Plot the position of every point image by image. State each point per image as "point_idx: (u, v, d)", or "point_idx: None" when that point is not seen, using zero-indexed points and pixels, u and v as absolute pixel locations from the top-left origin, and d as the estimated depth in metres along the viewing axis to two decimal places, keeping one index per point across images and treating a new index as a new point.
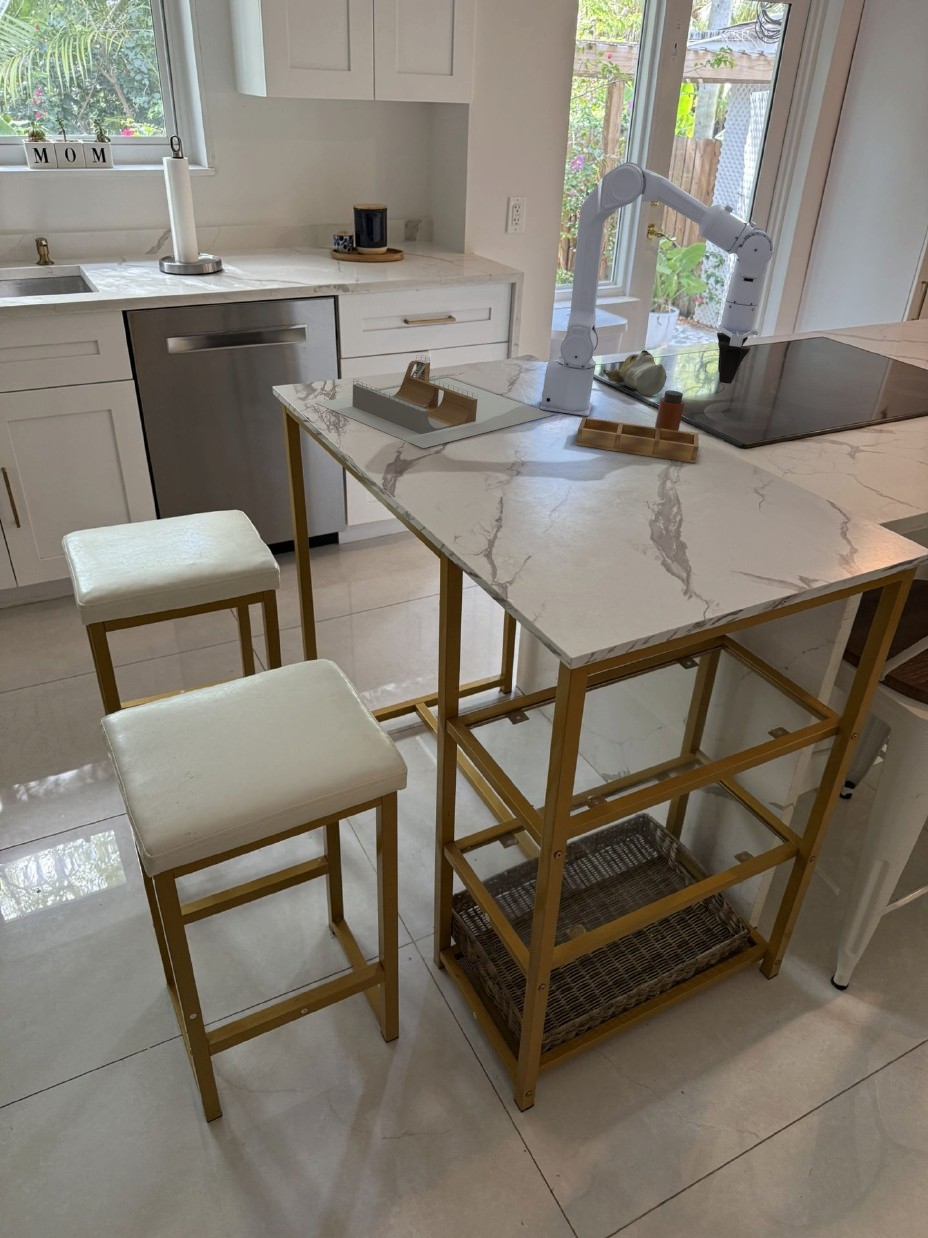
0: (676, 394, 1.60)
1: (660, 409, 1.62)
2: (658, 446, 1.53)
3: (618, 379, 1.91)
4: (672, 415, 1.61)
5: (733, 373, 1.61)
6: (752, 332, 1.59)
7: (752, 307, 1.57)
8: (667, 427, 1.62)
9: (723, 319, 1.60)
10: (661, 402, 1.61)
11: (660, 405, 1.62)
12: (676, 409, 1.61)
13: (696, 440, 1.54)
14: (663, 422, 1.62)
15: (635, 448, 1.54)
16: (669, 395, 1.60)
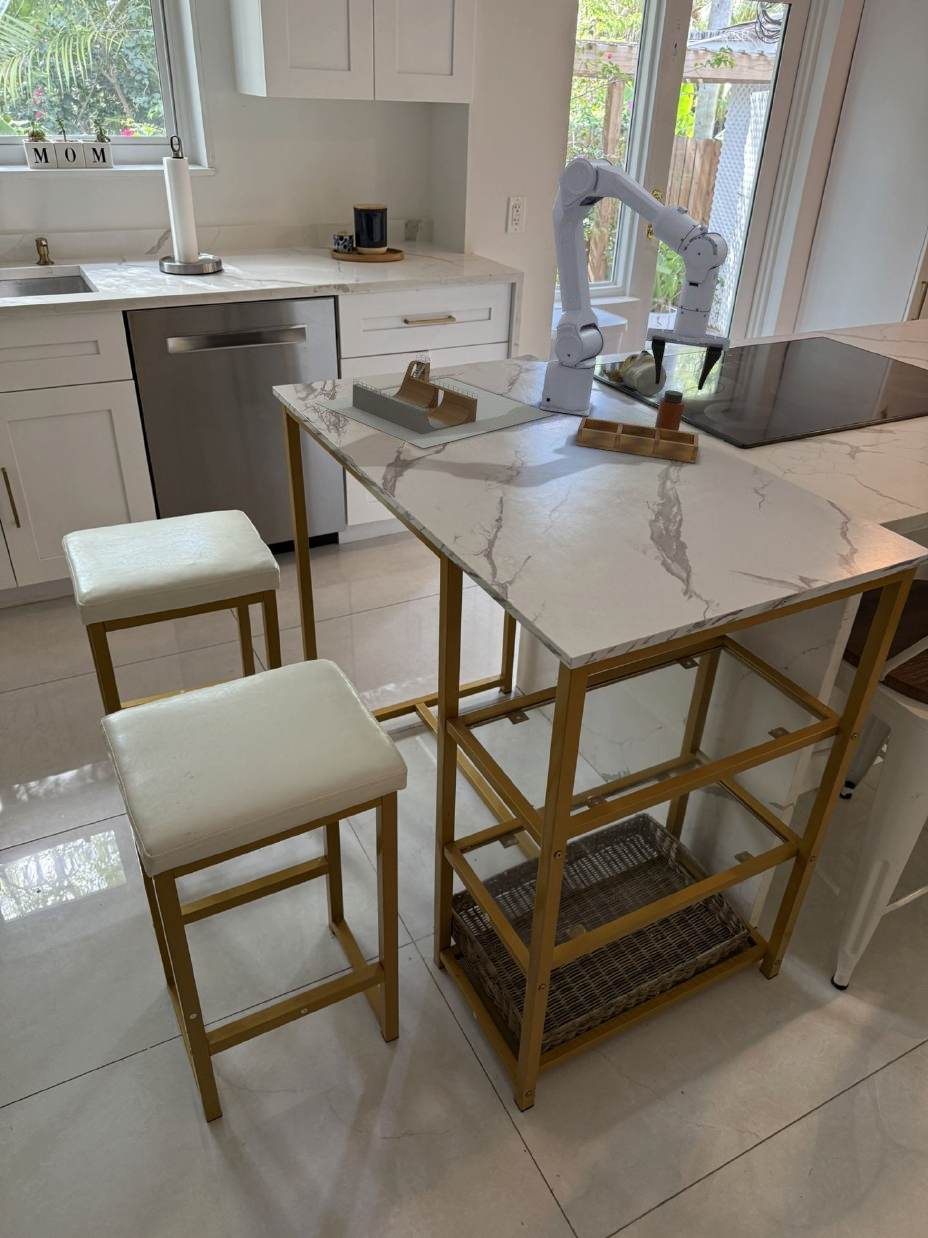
0: (676, 394, 1.60)
1: (660, 409, 1.62)
2: (658, 446, 1.53)
3: (618, 379, 1.91)
4: (672, 415, 1.61)
5: None
6: (681, 338, 1.54)
7: (681, 310, 1.53)
8: (667, 427, 1.62)
9: None
10: (661, 402, 1.61)
11: (660, 405, 1.62)
12: (676, 409, 1.61)
13: (696, 440, 1.54)
14: (663, 422, 1.62)
15: (635, 448, 1.54)
16: (669, 395, 1.60)
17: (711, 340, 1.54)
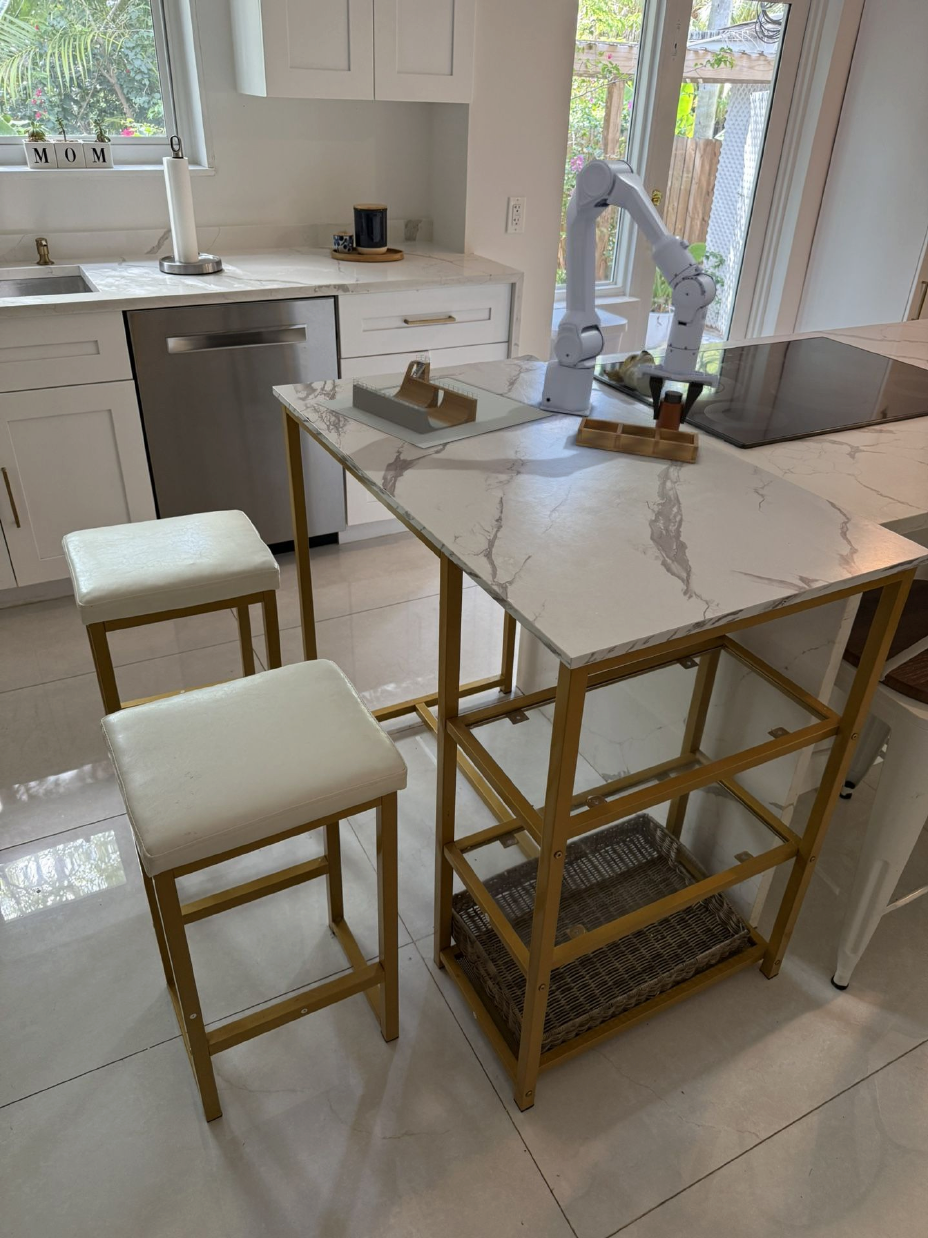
0: (676, 394, 1.60)
1: (660, 409, 1.62)
2: (658, 446, 1.53)
3: (618, 379, 1.91)
4: (672, 415, 1.61)
5: None
6: (670, 375, 1.57)
7: (670, 348, 1.56)
8: (667, 427, 1.62)
9: None
10: (661, 402, 1.61)
11: (660, 405, 1.62)
12: (676, 409, 1.61)
13: (696, 440, 1.54)
14: (663, 422, 1.62)
15: (635, 448, 1.54)
16: (669, 395, 1.60)
17: (700, 377, 1.57)
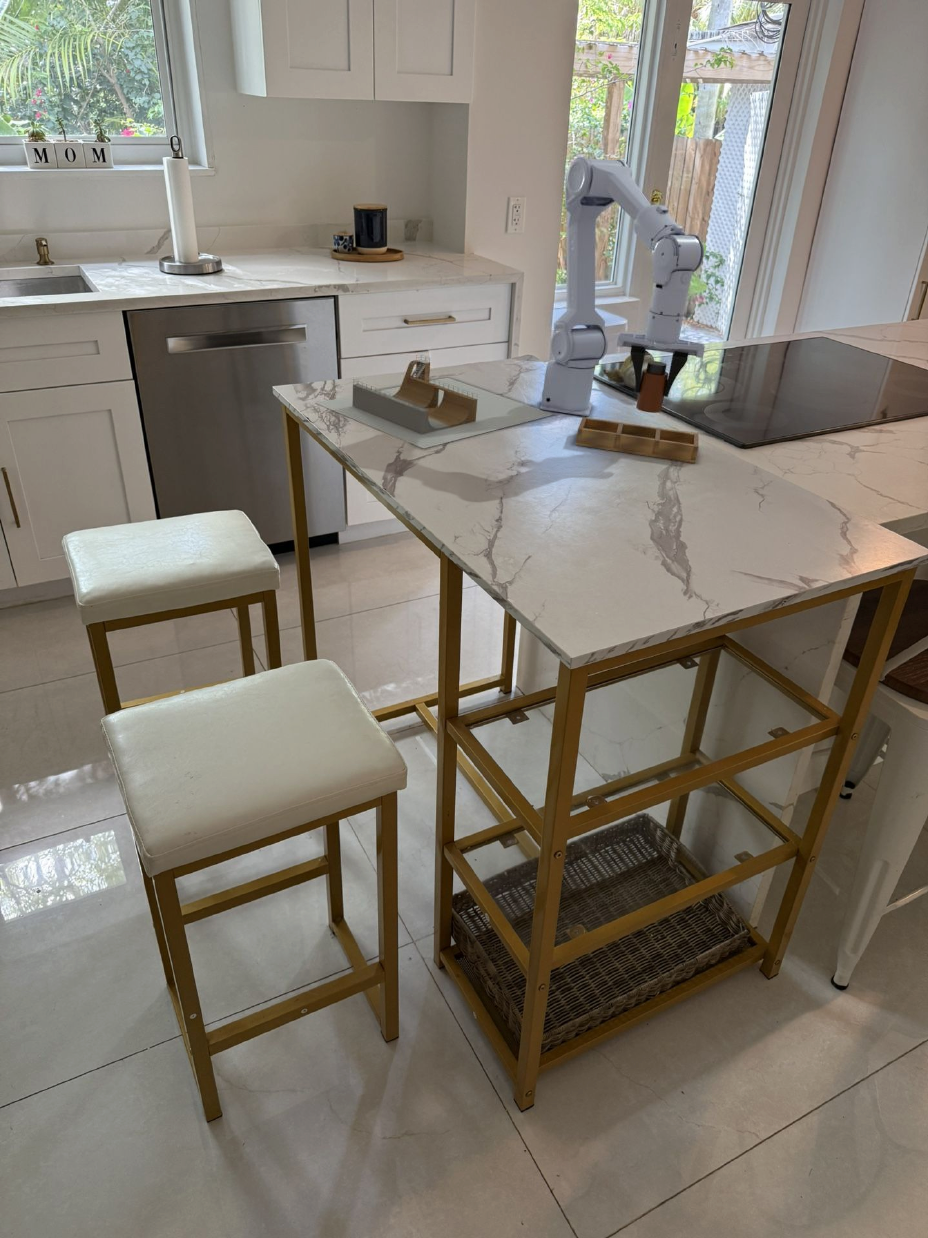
0: (659, 364, 1.51)
1: (642, 381, 1.52)
2: (658, 446, 1.53)
3: (618, 379, 1.91)
4: (656, 387, 1.51)
5: None
6: (653, 343, 1.47)
7: (652, 314, 1.46)
8: (650, 400, 1.52)
9: None
10: (643, 373, 1.52)
11: (642, 377, 1.52)
12: (660, 381, 1.51)
13: (696, 440, 1.54)
14: (646, 394, 1.52)
15: (635, 448, 1.54)
16: (652, 366, 1.50)
17: (684, 346, 1.47)
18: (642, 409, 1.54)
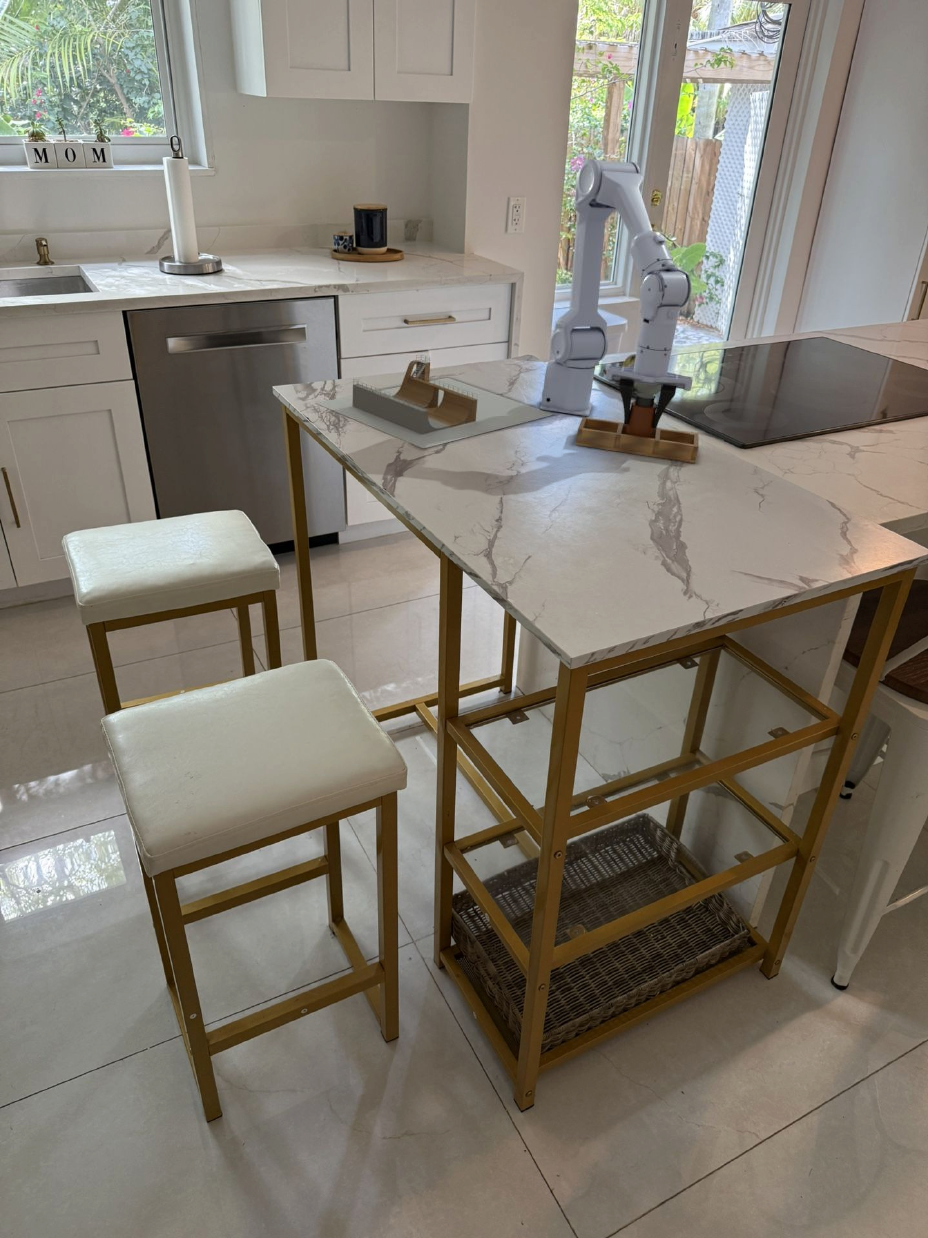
0: (648, 397, 1.52)
1: (631, 413, 1.53)
2: (658, 446, 1.53)
3: None
4: (644, 419, 1.53)
5: (624, 412, 1.54)
6: (641, 377, 1.48)
7: (640, 348, 1.47)
8: (639, 432, 1.54)
9: None
10: (632, 406, 1.53)
11: (631, 409, 1.53)
12: (648, 413, 1.52)
13: (696, 440, 1.54)
14: (634, 426, 1.54)
15: (635, 448, 1.54)
16: (640, 398, 1.52)
17: (672, 379, 1.49)
18: None
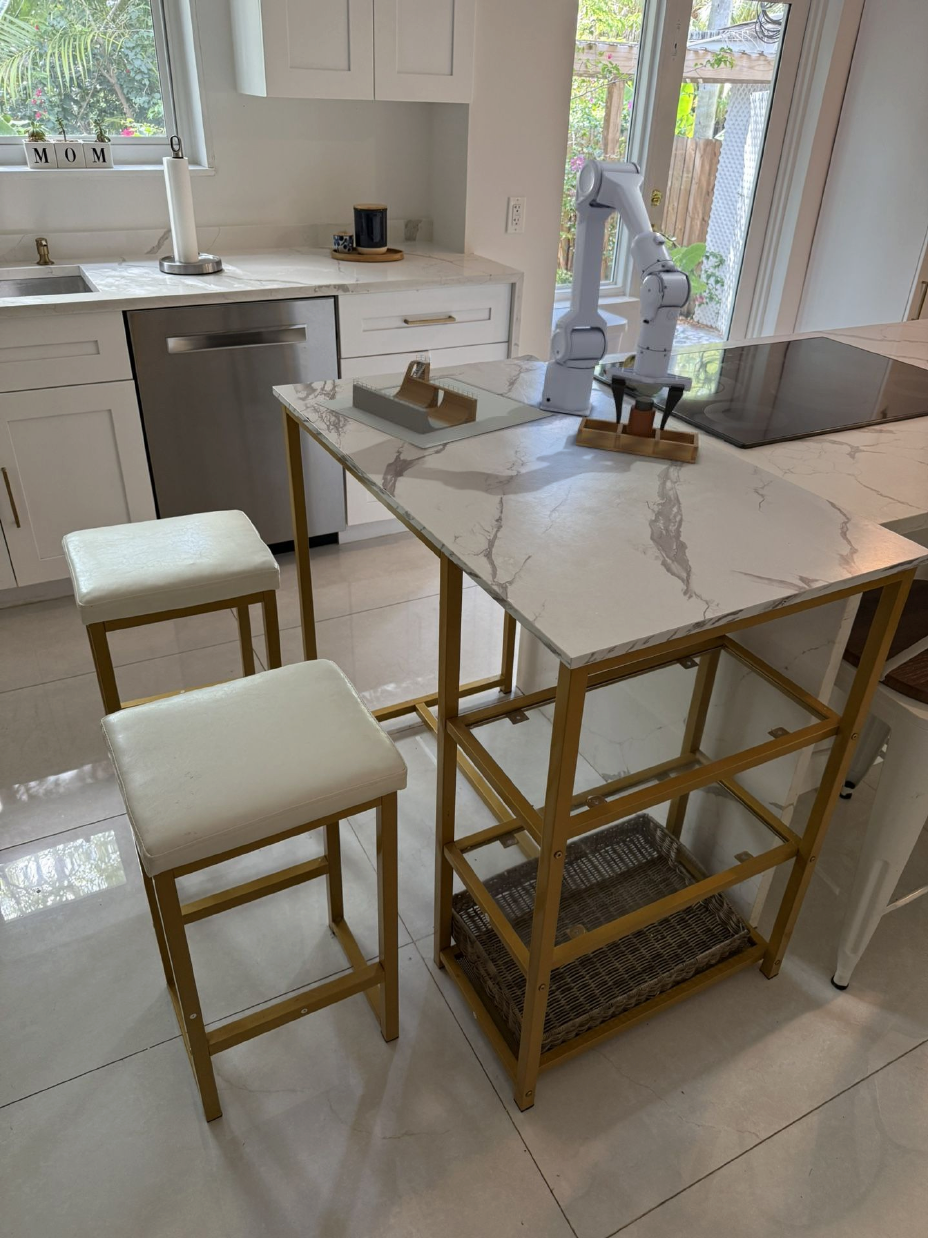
0: (647, 401, 1.52)
1: (631, 417, 1.54)
2: (658, 446, 1.53)
3: None
4: (643, 423, 1.53)
5: (616, 412, 1.54)
6: (641, 378, 1.49)
7: (640, 349, 1.47)
8: None
9: None
10: (631, 409, 1.53)
11: (630, 412, 1.54)
12: (647, 417, 1.52)
13: (696, 440, 1.54)
14: (634, 430, 1.54)
15: (635, 448, 1.54)
16: (640, 402, 1.52)
17: (672, 380, 1.49)
18: None
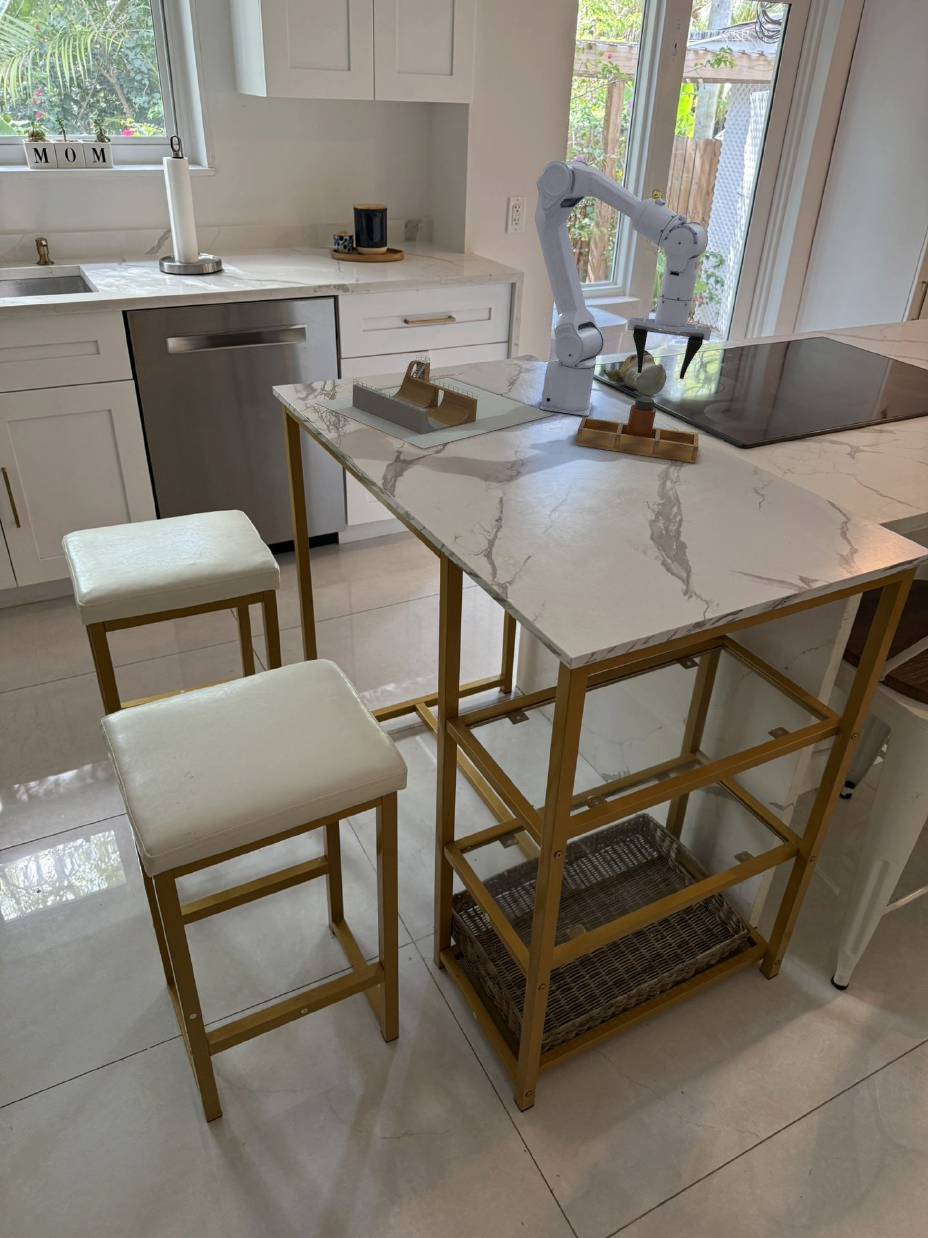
0: (647, 401, 1.52)
1: (631, 417, 1.54)
2: (658, 446, 1.53)
3: (618, 379, 1.91)
4: (643, 423, 1.53)
5: (638, 361, 1.61)
6: (662, 327, 1.55)
7: (662, 299, 1.54)
8: None
9: None
10: (631, 409, 1.53)
11: (630, 412, 1.54)
12: (647, 417, 1.52)
13: (696, 440, 1.54)
14: (634, 430, 1.54)
15: (635, 448, 1.54)
16: (640, 402, 1.52)
17: (692, 329, 1.55)
18: None
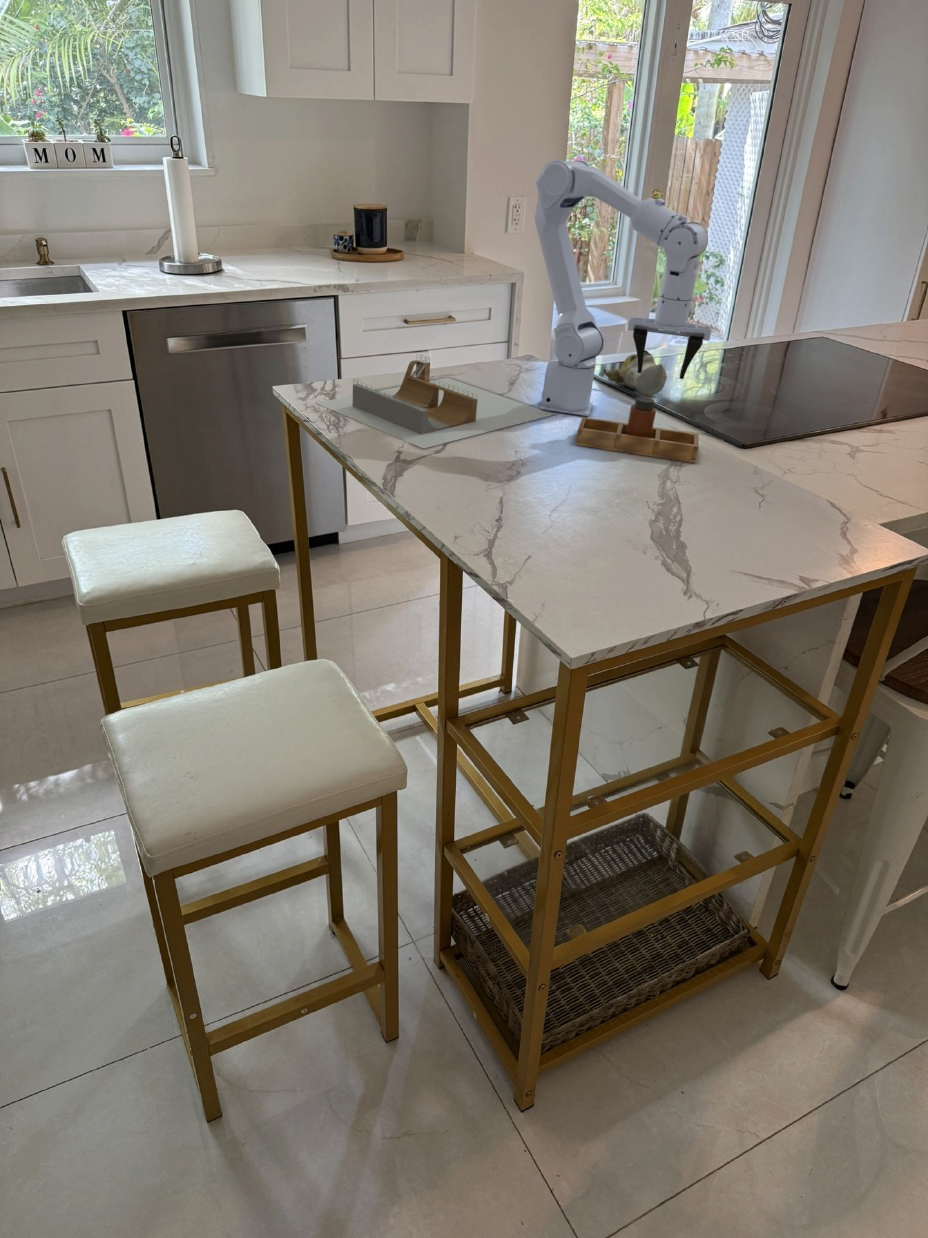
0: (647, 401, 1.52)
1: (631, 417, 1.54)
2: (658, 446, 1.53)
3: (618, 379, 1.91)
4: (643, 423, 1.53)
5: (638, 361, 1.61)
6: (662, 327, 1.55)
7: (662, 299, 1.54)
8: None
9: None
10: (631, 409, 1.53)
11: (630, 412, 1.54)
12: (647, 417, 1.52)
13: (696, 440, 1.54)
14: (634, 430, 1.54)
15: (635, 448, 1.54)
16: (640, 402, 1.52)
17: (692, 329, 1.55)
18: None
